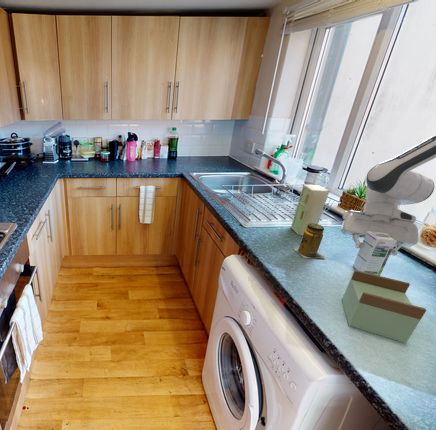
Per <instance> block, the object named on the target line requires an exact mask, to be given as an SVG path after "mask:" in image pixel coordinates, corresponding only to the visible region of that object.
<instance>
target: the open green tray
mask: <svg viewBox="0 0 436 430" xmlns="http://www.w3.org/2000/svg"><path fill="white" fill-rule="evenodd" d="M351 275H352V276H351V277H350V279H349V282H348V284H347V286H346V289H345V290H344V293H343V296H342V298H341V302H342V306H343V310H344V314H345V318H346V321H347V325H348V326H349V327H352V328H354V329H355V328H356V329H358V330H362V331H364V332H365V331H366V332H369V333H372V334H374V335H378V336H381V337H384V338H388V339H391V340H394V341H396V342H401V343H404V344H407V342H408V341H409V340H410V338H411V336H412V335H413V333H414V332H415V330H416V328H417V327H418V325H419V324H420V322H421V320H422V318H423V317H424V315H426V312H427V309H426V308H425V307H421V306H418V305H414V304H412V303H411V301H410V299H409V297H408V296H407V294H406V293H407V291H408V289H409V287H410V285H411V283H410V282H406V281H403V280H398V279H395V278H390V277H386V276H382V275H380V276H378V275H374V274H370V273H366V272H361V271H358V270H357V269H354V270H353V273H352V274H351Z"/></svg>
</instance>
